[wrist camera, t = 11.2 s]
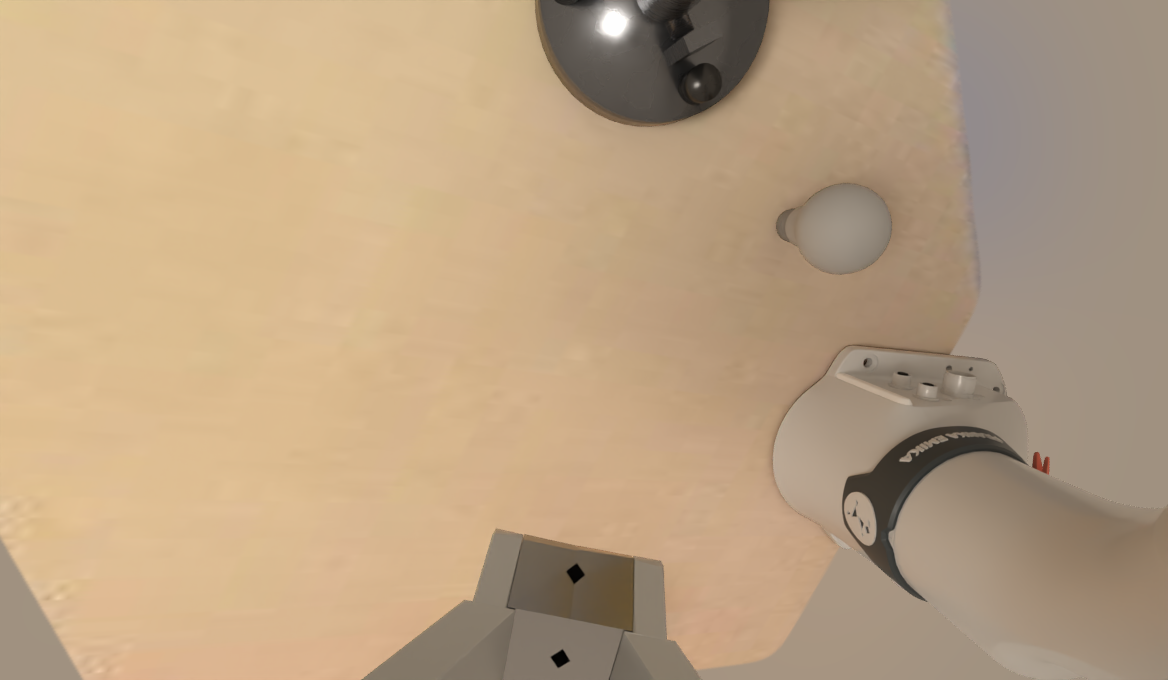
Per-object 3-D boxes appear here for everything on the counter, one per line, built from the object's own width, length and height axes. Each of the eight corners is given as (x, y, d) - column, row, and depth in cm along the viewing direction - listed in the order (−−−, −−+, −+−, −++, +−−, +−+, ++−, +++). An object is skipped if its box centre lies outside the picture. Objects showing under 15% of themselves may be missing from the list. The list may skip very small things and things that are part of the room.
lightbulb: (835, 223, 51) (930, 229, 41) (783, 278, 52) (864, 298, 41) (788, 169, 50) (875, 161, 39) (735, 226, 50) (806, 233, 39)
